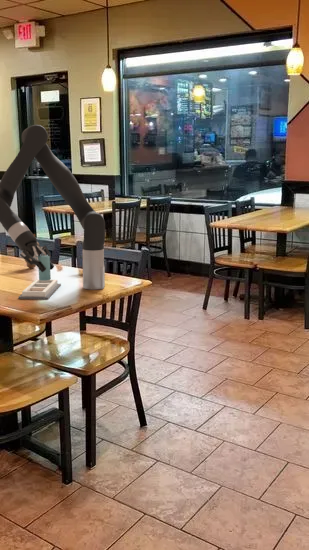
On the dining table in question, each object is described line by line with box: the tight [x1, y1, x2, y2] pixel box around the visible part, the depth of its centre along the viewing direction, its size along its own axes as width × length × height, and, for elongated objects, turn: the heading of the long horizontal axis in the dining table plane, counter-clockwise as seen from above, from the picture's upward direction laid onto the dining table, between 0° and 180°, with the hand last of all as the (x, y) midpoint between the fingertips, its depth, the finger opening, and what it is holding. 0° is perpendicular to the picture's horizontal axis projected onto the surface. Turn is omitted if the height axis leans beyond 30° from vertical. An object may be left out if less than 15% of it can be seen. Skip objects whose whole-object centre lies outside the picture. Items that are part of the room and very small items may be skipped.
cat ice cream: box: [24, 233, 40, 269], centre depth 274 cm, size 9×8×18 cm
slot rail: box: [18, 278, 62, 300], centre depth 226 cm, size 12×25×3 cm, turn 178°
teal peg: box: [38, 255, 52, 281], centre depth 206 cm, size 4×4×9 cm
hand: (48, 269), depth 205 cm, fingers closed on teal peg, 4 cm apart
